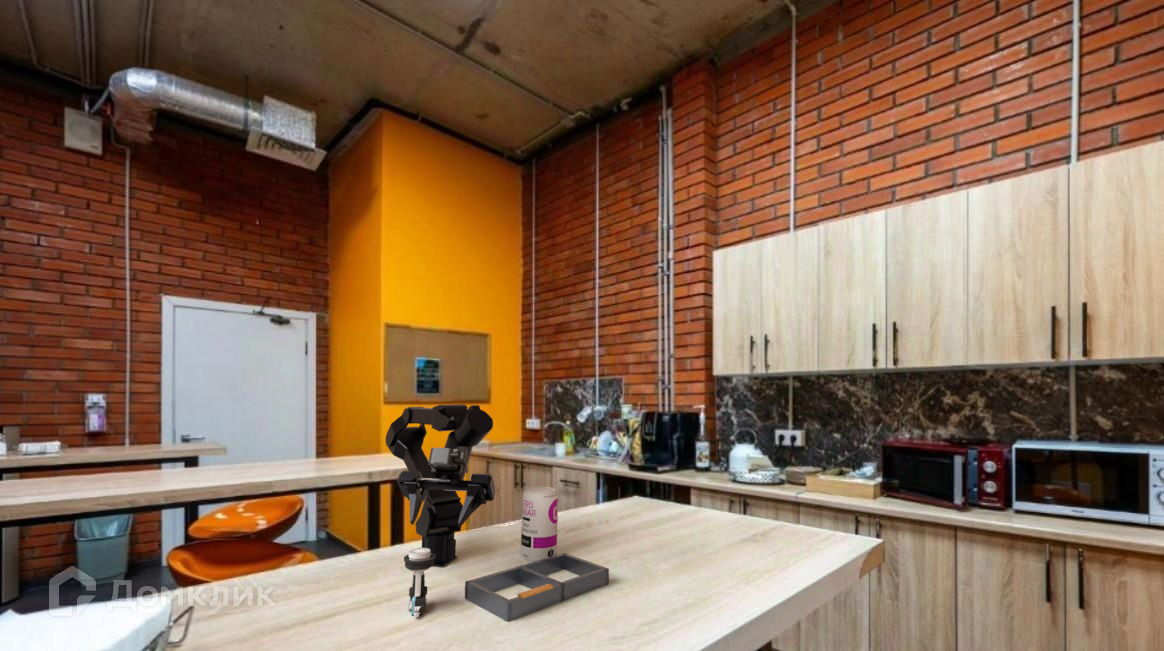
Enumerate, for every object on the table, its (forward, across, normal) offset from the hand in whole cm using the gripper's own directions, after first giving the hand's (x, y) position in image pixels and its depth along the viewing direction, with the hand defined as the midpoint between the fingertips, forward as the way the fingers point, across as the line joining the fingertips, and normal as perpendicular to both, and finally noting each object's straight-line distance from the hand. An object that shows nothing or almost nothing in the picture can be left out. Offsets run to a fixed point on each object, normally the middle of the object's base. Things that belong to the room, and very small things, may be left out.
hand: (435, 524), depth 103 cm
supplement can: (-8, +16, +27) cm, 32 cm away
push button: (+14, 0, +4) cm, 15 cm away
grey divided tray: (+6, +19, +12) cm, 24 cm away
